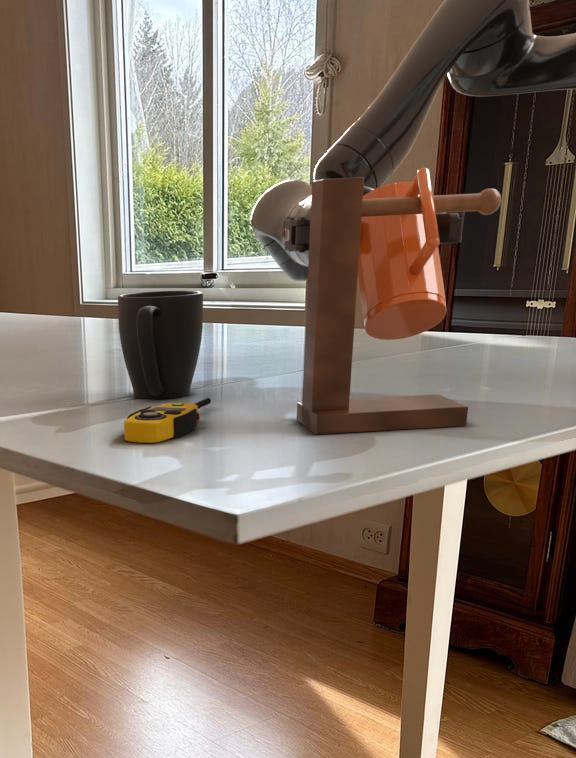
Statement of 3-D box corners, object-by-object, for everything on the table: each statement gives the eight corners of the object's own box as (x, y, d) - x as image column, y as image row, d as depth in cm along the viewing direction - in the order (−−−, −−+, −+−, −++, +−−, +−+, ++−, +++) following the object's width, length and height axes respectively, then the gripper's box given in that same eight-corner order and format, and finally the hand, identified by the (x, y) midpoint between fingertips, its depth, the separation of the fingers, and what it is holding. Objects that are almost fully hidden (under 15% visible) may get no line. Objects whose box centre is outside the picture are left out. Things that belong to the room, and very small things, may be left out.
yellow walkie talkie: (110, 417, 72) (184, 386, 84) (111, 441, 73) (185, 407, 85) (166, 420, 70) (234, 388, 82) (167, 445, 71) (234, 409, 83)
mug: (100, 408, 86) (96, 301, 82) (132, 387, 97) (129, 291, 93) (186, 409, 84) (185, 299, 80) (209, 387, 95) (209, 289, 91)
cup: (354, 342, 75) (341, 232, 77) (429, 338, 76) (413, 228, 77) (397, 271, 65) (380, 147, 67) (482, 267, 66) (463, 143, 67)
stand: (458, 410, 78) (485, 173, 70) (490, 424, 72) (523, 168, 65) (296, 420, 77) (306, 182, 70) (315, 434, 72) (329, 177, 64)
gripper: (266, 191, 85) (314, 182, 71) (416, 183, 86) (495, 173, 71) (264, 277, 88) (309, 286, 74) (409, 269, 89) (483, 277, 74)
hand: (401, 231), depth 72 cm, fingers open, 8 cm apart
